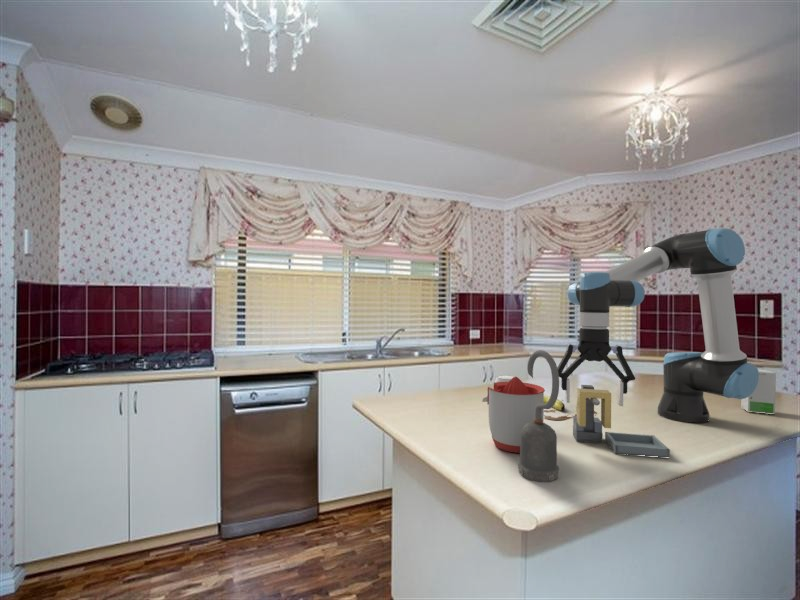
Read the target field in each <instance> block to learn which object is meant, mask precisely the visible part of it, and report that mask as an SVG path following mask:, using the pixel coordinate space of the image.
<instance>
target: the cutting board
mask: <svg viewBox="0 0 800 600" xmlns="http://www.w3.org/2000/svg"><path fill="white" fill-rule="evenodd" d="M550 396H551V395H550ZM550 396H549V395H545V394H544V403H547V402H548V401H549V399H550ZM563 402H564V400H563V399H561V400H560V399H558V398H557V400H556V402H555V404H554V406H553V407H552V408H553V409H552V408H551V409H544V413H556V412H557V411H559V412H562V411H564V410H565V403H563ZM572 414H573V413H572ZM572 414H571V413H568V414H567V415H562V416H558V417H554V416H552V415H546V414H544V419H545V420H551V421H552V420H553V421H563V420H567V419H571V418H572V419H573V416H569V415H572ZM597 414H598V412H597V411H596V410H594V417H595V416H596V417H597ZM574 416H577V413H576V414H574Z"/></svg>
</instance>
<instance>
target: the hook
mask: <svg viewBox="0 0 800 600" xmlns="http://www.w3.org/2000/svg"><path fill="white" fill-rule="evenodd" d="M539 357H541V358H542V357H543V358H544V359H545V361H546V362H547V363H548V365H549V368H550V370H551V371H550V372H551V393H550V399H549V401H548V402H547V403H542V404H538V405H537V406H536V408H535V419H534V422H530V423H527V424H526V425H525V426H523V427H522V429H521V432H520V453H519V460H518V461H517V466H518V467H517V468H518V473H519V474H520V475H521V476H522V477H524V478H526V479H528V480H530V481H531V480H532V481H535V482H540V483H541V482H543V483H546V482H553V481H555V480H557V479H558V478H559V477H558V476H559V471H560V467H559V466H558V464H557V459H558V456H557V455H558V454H557V453H558V450H557V446H558V443H557V442H558V441H557V440H558V438H557V437H558V436H557V433H556V431H555V429H554V428H552V426H551V425H549V424H547V423H545V422H544V420H543V421H542V409H544V410H551V409H552V407H553V406H554V404H555V402H556V400H557V399H558V398H559V391H560V377H559V373H558V368H557V367H558V366H557V363H556V361H555V359H554V358H553V356H552V355H551V354H550V353H549V352H548V351H545V350H541V349H540V350H539V349H538V350H536V351H534V352H533V353H532V354H531V355H530V357H529V358H528V361H527V374H528V375H529V376H530V377H531V378H532V379H533V378H534V375H533V374H534V364H535V361H536V360H537V358H539Z"/></svg>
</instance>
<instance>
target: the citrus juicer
mask: <svg viewBox="0 0 800 600" xmlns="http://www.w3.org/2000/svg"><path fill="white" fill-rule="evenodd" d="M545 391H546V390H545V388H544V387H542V386H540V385H537V384H533V383H530V382H529V383H528V382H523V381H522V379H520V378H519V377H518V376H516V377H513V378H512V379H511V380H510V381H509V382H496V383H495V382H493V388H492V387H490V386H487V395H486V396H485V397H483V398H482V400H481V402H482V403H486V402H487V405H488V423H489V424H488V425H489V431H490V435H491V438H492V441H493V443H494V446H495V447H497V448H498V449H499V450H503V451H506V452H509V453H517V454H520V432H521V429H522V427H523V426H525V425H526V424H527V423H530V422H534V419H535V408H536V406H537V405H538V404H542V403H544V395H545V393H544V392H545ZM544 410H545V409H542V421H543V422H544V418H545V417H544V415H545V414H544V413H545V412H544Z"/></svg>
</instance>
